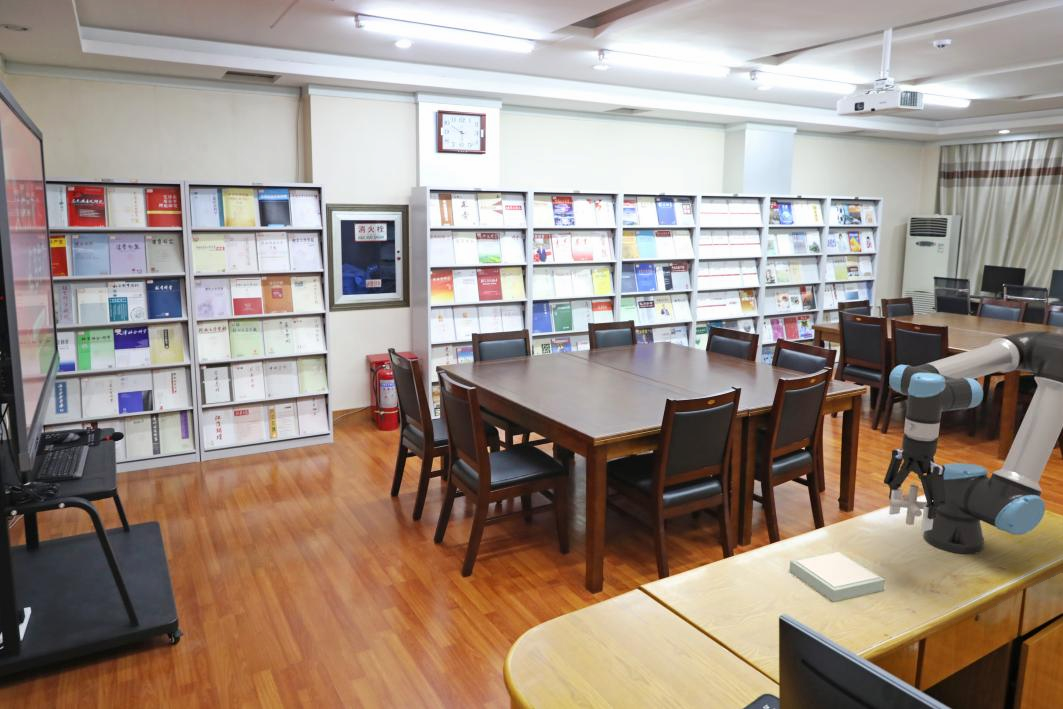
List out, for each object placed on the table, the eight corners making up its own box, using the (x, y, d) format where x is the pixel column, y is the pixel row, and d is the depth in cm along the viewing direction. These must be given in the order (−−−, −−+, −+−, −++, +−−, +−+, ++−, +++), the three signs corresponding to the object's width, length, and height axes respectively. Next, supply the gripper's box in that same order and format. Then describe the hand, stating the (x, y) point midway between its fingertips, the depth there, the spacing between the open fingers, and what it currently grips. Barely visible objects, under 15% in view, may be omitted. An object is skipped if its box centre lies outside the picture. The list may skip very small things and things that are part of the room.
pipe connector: (937, 534, 181) (942, 495, 179) (893, 530, 183) (898, 492, 181) (925, 516, 191) (929, 480, 189) (883, 513, 193) (887, 477, 191)
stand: (837, 561, 202) (838, 550, 201) (883, 590, 187) (885, 578, 187) (789, 571, 196) (790, 559, 196) (833, 601, 182) (834, 589, 181)
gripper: (874, 424, 191) (865, 506, 196) (947, 452, 171) (935, 542, 176) (896, 421, 193) (887, 502, 198) (971, 448, 173) (959, 537, 178)
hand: (910, 521), depth 187 cm, fingers closed on pipe connector, 9 cm apart
